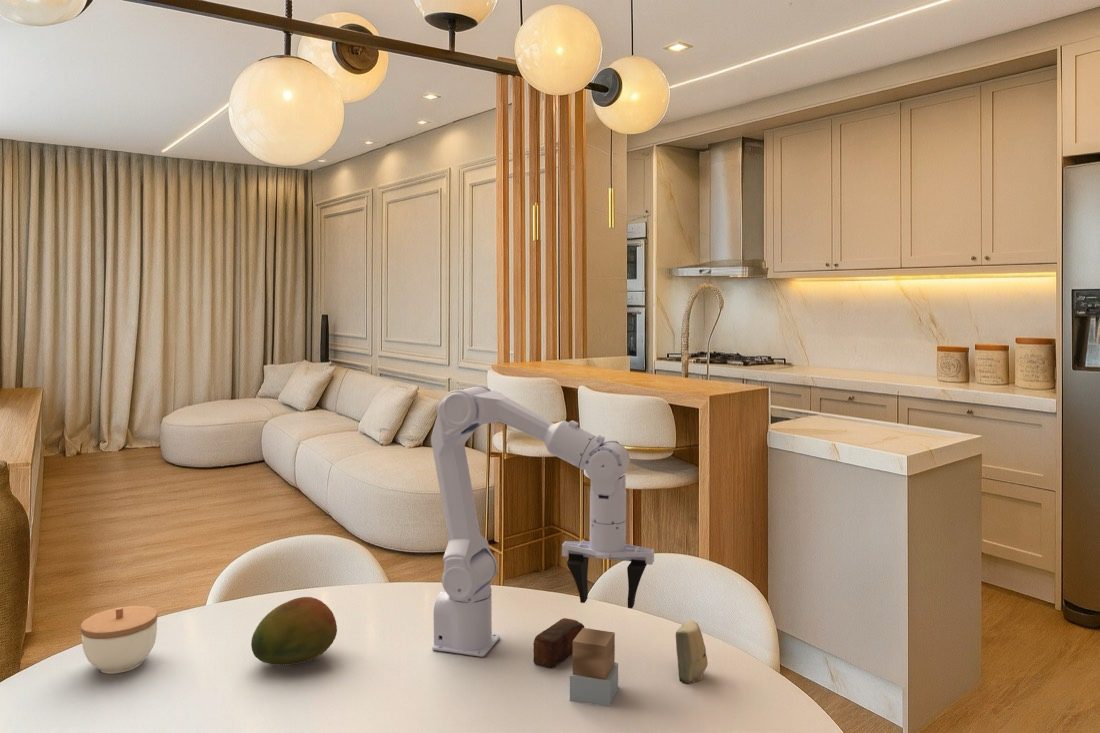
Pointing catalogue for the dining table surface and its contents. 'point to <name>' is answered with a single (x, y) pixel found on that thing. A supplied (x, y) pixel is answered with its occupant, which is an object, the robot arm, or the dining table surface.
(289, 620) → the fruit
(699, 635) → the tan tapered stone
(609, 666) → the walnut cube
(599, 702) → the slate block
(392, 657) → the dining table surface
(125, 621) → the lidded jar
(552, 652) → the brick
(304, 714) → the dining table surface
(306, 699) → the dining table surface
